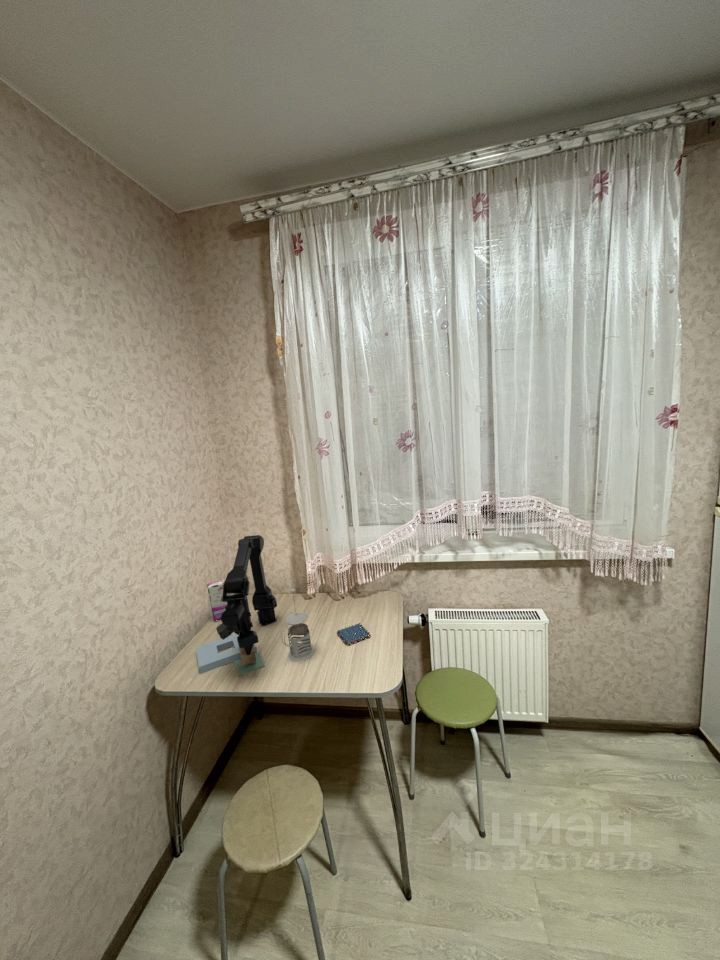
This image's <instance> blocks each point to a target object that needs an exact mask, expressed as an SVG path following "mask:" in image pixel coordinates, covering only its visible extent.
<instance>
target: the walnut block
mask: <svg viewBox="0 0 720 960" xmlns="http://www.w3.org/2000/svg"><path fill="white" fill-rule="evenodd" d="M239 651H240V657H241V661H242V664H243V666H246V665H249V664H251V663H254V662H256V657H255V650H254V644H253V647H252V650H251V653H250V655H247V654H246V652H245V649H244V648H239Z"/></svg>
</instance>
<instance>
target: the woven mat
mask: <svg viewBox="0 0 720 960" xmlns="http://www.w3.org/2000/svg"><path fill="white" fill-rule="evenodd" d="M360 627H361V628H360ZM355 633H356V634H355ZM336 634H337V637H339V639H341V641H342V643H343V644H344V645H345V646H346V645H347V646H348V647H349V646H351V645H353V644H352V643H354V642H355V643H354V644H357V641H359V642H360V640H361V638H362V639H364V638H366V637H367V638H368V637H370V638H371V636H372V635H371V634H370V632H369V631H368V630H367V629H366V628H365V626H363V624H361V622H359V623H355V624H354V625H352V624H351V626H350V625H349V626H348V627H346V626H345V628H341V629H339V630H337V631H336ZM368 635H369V636H368ZM367 638H366V639H367ZM349 644H350V645H349ZM347 646H346V647H347Z"/></svg>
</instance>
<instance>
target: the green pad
mask: <svg viewBox="0 0 720 960" xmlns="http://www.w3.org/2000/svg"><path fill="white" fill-rule="evenodd" d="M255 657H256V662H254V663H251V664H249V665H246V666H243V664H242V661H241V659H238V660H236V661H234V662H233V663H234V665H235V669H236V672H237V675H238V677H240V676H242V675H245V674H248V673H251V672H254V671H256V670H259V669H261V668H264V667H265V662H264V660H263V658H262V656H261V653H260V652H258V651H257V653H255Z"/></svg>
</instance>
